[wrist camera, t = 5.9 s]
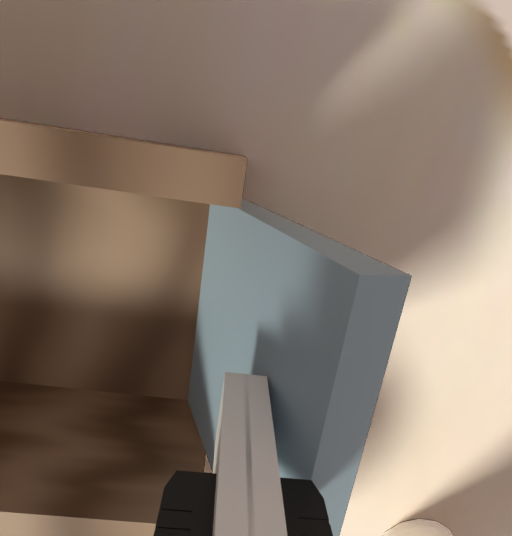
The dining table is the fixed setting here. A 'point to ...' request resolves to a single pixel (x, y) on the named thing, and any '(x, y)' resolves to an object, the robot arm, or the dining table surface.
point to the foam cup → (418, 529)
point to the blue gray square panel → (295, 340)
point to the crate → (99, 323)
